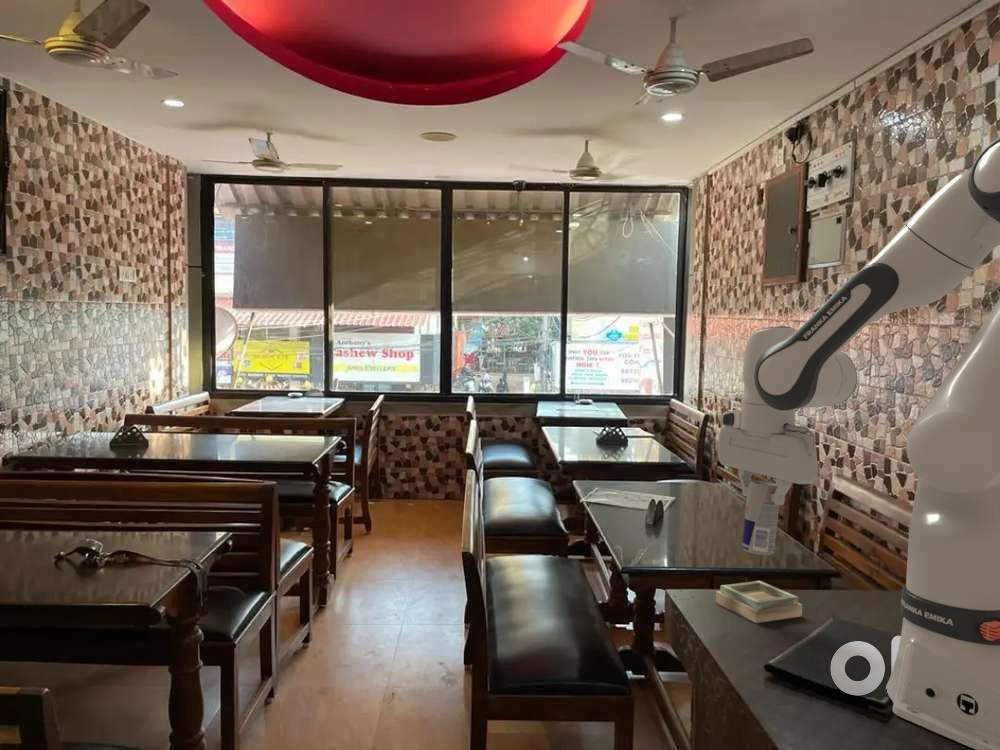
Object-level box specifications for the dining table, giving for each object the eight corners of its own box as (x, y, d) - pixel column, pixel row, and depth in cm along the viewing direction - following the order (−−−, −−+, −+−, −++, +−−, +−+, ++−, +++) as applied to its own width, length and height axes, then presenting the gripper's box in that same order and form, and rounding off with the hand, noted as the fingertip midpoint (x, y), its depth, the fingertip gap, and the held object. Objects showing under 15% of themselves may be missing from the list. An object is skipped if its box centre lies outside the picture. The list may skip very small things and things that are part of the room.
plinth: (801, 616, 121) (802, 597, 121) (756, 623, 117) (757, 604, 117) (759, 596, 130) (760, 579, 130) (715, 602, 127) (716, 584, 126)
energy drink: (747, 545, 127) (754, 479, 127) (778, 553, 124) (785, 484, 124) (736, 549, 123) (744, 481, 123) (767, 557, 120) (775, 486, 120)
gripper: (829, 428, 114) (824, 513, 115) (740, 414, 133) (736, 487, 134) (800, 428, 112) (794, 515, 113) (713, 414, 131) (709, 489, 131)
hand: (762, 500), depth 123 cm, fingers closed on energy drink, 5 cm apart
